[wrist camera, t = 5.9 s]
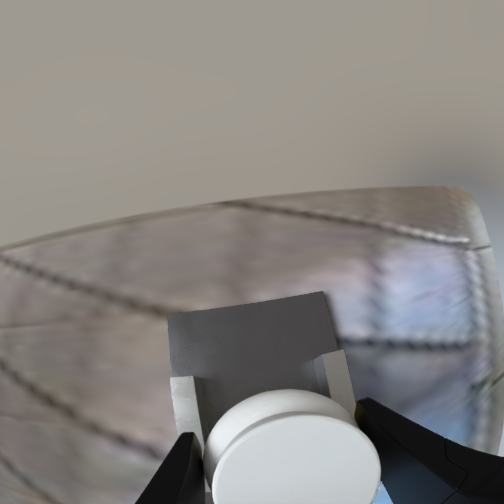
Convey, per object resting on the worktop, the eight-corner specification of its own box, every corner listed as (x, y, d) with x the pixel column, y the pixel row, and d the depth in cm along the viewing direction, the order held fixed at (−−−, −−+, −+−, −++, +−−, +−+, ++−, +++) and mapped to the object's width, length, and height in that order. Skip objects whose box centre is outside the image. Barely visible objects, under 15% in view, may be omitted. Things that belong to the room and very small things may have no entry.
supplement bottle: (311, 383, 14) (394, 360, 6) (324, 465, 11) (410, 528, 3) (217, 396, 14) (165, 399, 5) (230, 480, 11) (203, 573, 2)
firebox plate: (361, 498, 12) (378, 511, 10) (206, 527, 11) (199, 545, 8) (320, 294, 21) (331, 277, 18) (170, 317, 20) (157, 304, 17)
